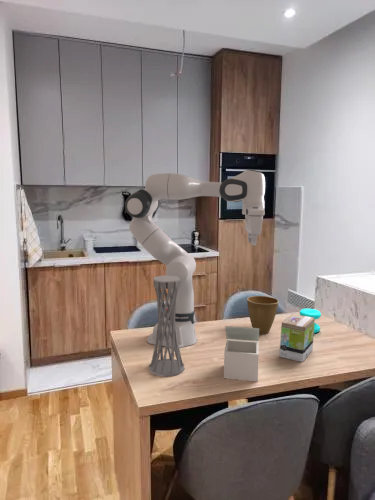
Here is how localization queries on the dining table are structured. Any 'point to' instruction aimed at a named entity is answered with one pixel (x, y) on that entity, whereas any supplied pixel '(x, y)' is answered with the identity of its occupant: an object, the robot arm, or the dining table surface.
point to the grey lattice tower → (165, 365)
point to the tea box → (297, 337)
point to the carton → (241, 360)
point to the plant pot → (262, 312)
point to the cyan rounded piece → (314, 314)
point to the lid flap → (242, 333)
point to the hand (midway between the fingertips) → (252, 244)
